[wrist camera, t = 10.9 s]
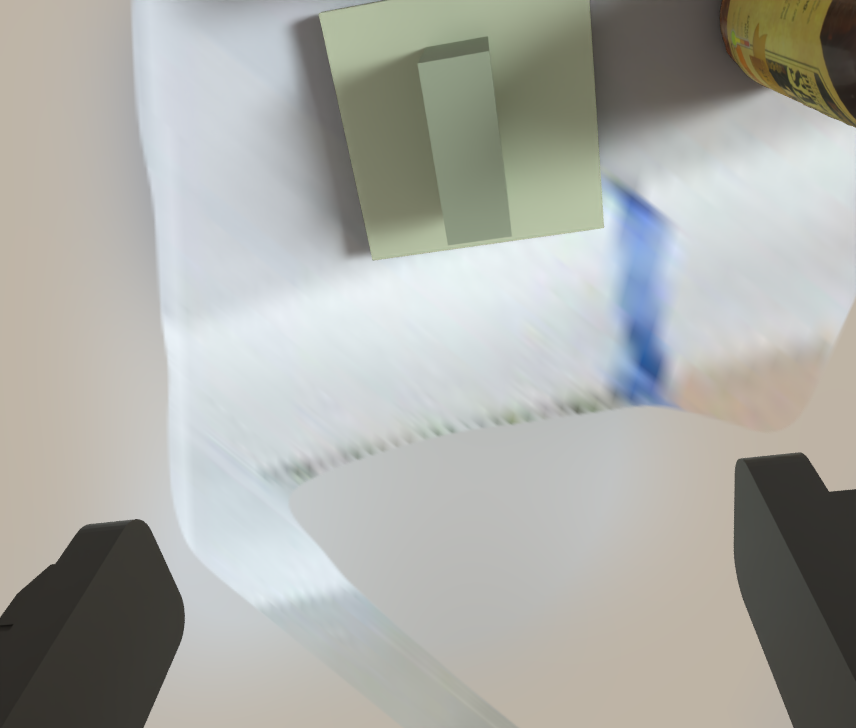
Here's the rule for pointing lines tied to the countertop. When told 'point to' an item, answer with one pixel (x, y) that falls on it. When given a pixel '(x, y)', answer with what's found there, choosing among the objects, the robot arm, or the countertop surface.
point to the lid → (467, 120)
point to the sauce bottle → (797, 49)
